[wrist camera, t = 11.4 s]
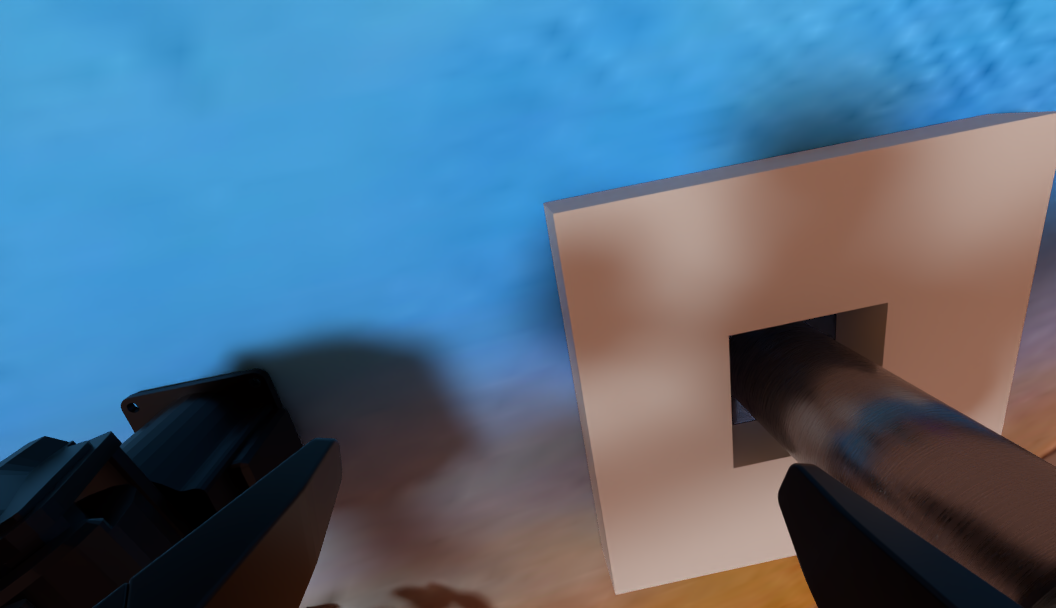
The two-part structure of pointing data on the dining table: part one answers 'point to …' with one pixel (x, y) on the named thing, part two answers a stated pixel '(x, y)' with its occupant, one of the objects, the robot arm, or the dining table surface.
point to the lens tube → (905, 455)
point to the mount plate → (784, 315)
